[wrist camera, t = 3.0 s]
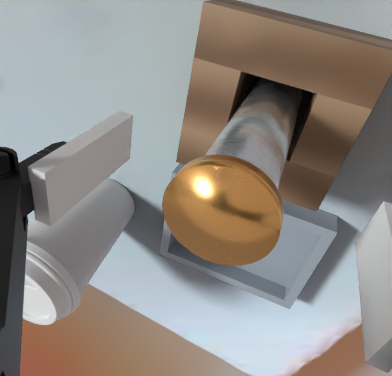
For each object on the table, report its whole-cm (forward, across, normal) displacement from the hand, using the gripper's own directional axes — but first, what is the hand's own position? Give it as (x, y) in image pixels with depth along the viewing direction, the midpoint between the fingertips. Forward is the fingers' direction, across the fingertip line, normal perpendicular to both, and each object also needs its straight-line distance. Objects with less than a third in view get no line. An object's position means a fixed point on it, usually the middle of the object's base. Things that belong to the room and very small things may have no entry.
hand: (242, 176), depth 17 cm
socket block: (+13, 0, 0) cm, 13 cm away
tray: (+13, +1, -15) cm, 20 cm away
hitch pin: (+13, 0, 0) cm, 13 cm away
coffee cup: (+13, -15, -18) cm, 27 cm away
